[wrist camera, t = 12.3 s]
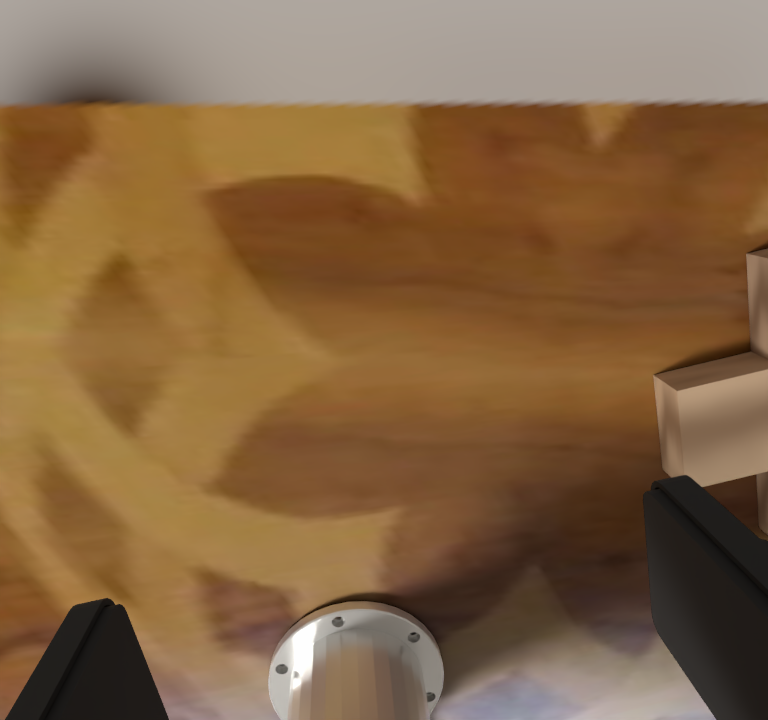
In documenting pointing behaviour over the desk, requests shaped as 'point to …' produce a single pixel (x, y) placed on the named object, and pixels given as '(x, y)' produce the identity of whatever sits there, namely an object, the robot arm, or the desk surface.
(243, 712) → the desk surface
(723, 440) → the cross stand
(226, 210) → the desk surface
